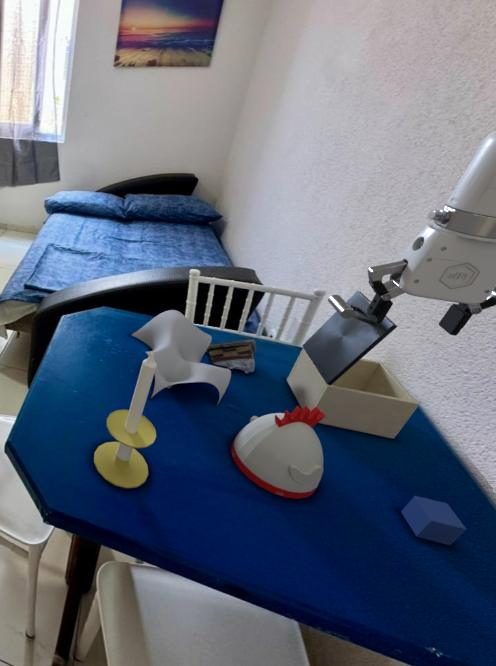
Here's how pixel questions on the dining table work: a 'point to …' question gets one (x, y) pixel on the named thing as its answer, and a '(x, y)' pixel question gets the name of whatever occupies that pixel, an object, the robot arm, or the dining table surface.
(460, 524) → the blue block
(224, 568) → the dining table surface
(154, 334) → the sculpture
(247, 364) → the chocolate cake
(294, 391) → the open box
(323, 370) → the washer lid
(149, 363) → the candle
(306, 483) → the kitchen timer
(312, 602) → the dining table surface
